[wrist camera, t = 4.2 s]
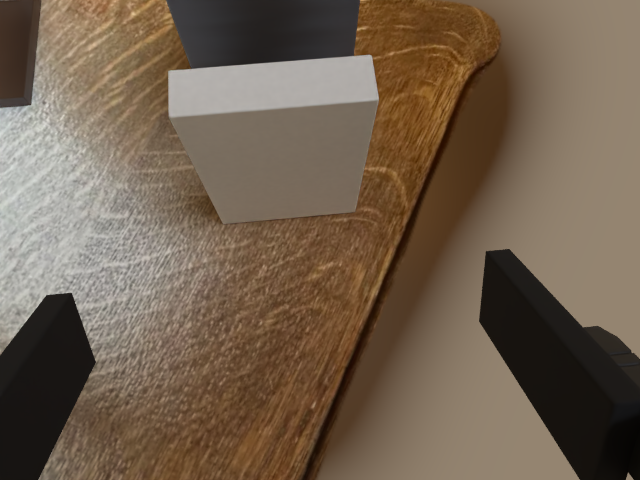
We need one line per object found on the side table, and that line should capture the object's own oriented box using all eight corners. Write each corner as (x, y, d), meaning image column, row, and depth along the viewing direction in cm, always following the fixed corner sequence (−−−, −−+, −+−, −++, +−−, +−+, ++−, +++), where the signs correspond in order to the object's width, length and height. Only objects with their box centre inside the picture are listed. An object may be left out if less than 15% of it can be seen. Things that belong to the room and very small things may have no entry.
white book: (351, 180, 34) (372, 53, 22) (355, 212, 33) (379, 99, 21) (221, 192, 34) (167, 69, 21) (222, 224, 33) (167, 117, 20)
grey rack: (343, 30, 38) (360, -187, 24) (360, 143, 35) (390, -31, 21) (201, 41, 38) (134, -174, 24) (205, 157, 34) (130, -13, 20)
